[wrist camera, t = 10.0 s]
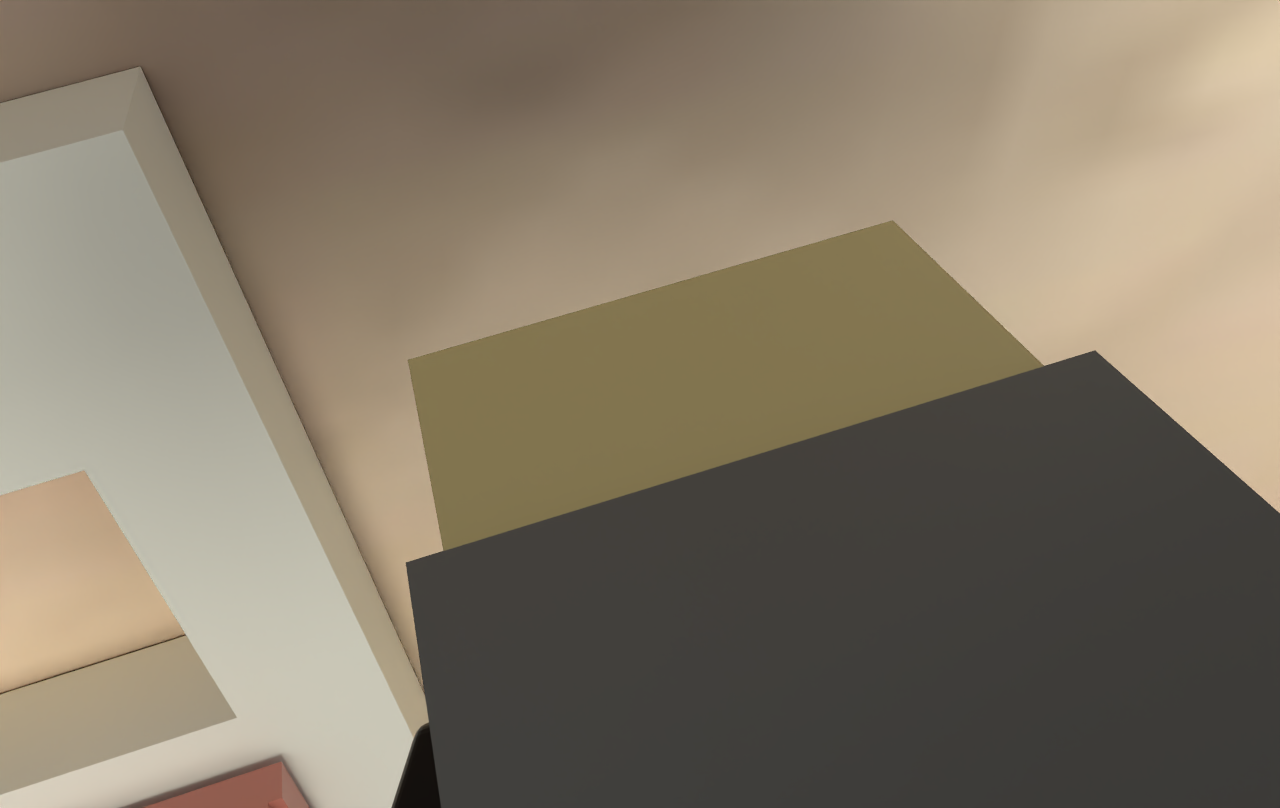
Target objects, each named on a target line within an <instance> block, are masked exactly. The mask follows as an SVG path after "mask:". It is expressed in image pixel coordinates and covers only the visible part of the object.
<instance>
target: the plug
mask: <svg viewBox="0 0 1280 808" xmlns="http://www.w3.org/2000/svg"><path fill="white" fill-rule="evenodd" d="M408 363H409V368H410V374H411V379H412V384H413V390H414V395H415V400H416V406H417V411H418V416H419V422H420V427H421V432H422V438H423V443H424V448H425V454H426V459H427V464H428V470H429V475H430V480H431V486H432V491H433V496H434V502H435V507H436V513H437V518H438V523H439V529H440V534H441V539H442V545H443V550H444V551H442V552H439V553H436V554H432V555H429V556H426V557H423V558H419V559H416V560H413V561H410V562H406V567H407V574H408V581H409V588H410V595H411V602H412V609H413V616H414V623H415V630H416V637H417V644H418V650H419V657H420V664H421V671H422V678H423V685H424V692H425V699H426V706H427V713H428V720H429V727H430V734H431V740H432V747H433V754H434V761H435V768H436V775H437V782H438V789H439V796H440V803H441V808H1280V513H1279V512H1278V511H1276V510H1275V509H1274V508H1273V507H1272V506H1271V505H1270V504H1268V503H1267V502H1266V501H1265V500H1264V499H1263V498H1262V497H1261V496H1259V495H1258V494H1257V493H1256V492H1255V491H1254V490H1253V489H1251V488H1250V487H1249V486H1248V485H1247V484H1246V483H1245V482H1244V481H1242V480H1241V479H1240V478H1239V477H1238V476H1237V475H1236V474H1234V473H1233V472H1232V471H1231V470H1230V469H1229V468H1228V467H1227V466H1225V465H1224V464H1223V463H1222V462H1221V461H1220V460H1219V459H1217V458H1216V457H1215V456H1214V455H1213V454H1212V453H1211V452H1210V451H1208V450H1207V449H1206V448H1205V447H1204V446H1203V445H1202V444H1200V443H1199V442H1198V441H1197V440H1196V439H1195V438H1194V437H1193V436H1191V435H1190V434H1189V433H1188V432H1187V431H1186V430H1185V429H1183V428H1182V427H1181V426H1180V425H1179V424H1178V423H1177V422H1176V421H1174V420H1173V419H1172V418H1171V417H1170V416H1169V415H1168V414H1166V413H1165V412H1164V411H1163V410H1162V409H1161V408H1160V407H1159V406H1157V405H1156V404H1155V403H1154V402H1153V401H1152V400H1151V399H1149V398H1148V397H1147V396H1146V395H1145V394H1144V393H1143V392H1142V391H1140V390H1139V389H1138V388H1137V387H1136V386H1135V385H1134V384H1132V383H1131V382H1130V381H1129V380H1128V379H1127V378H1126V377H1125V376H1123V375H1122V374H1121V373H1120V372H1119V371H1118V370H1117V369H1115V368H1114V367H1113V366H1112V365H1111V364H1110V363H1109V362H1108V361H1106V360H1105V359H1104V358H1103V357H1102V356H1101V355H1100V354H1098V353H1097V352H1096V351H1092V352H1088V353H1085V354H1082V355H1079V356H1075V357H1072V358H1069V359H1066V360H1062V361H1059V362H1056V363H1053V364H1049V365H1046V366H1044V365H1043V364H1041V363H1040V362H1039V361H1038V360H1037V359H1036V358H1035V357H1034V356H1033V355H1032V354H1031V353H1030V352H1029V351H1028V350H1027V349H1026V348H1025V347H1024V346H1023V345H1022V344H1021V343H1020V342H1019V341H1018V340H1016V339H1015V338H1014V337H1013V336H1012V335H1011V334H1010V333H1009V332H1008V331H1007V330H1006V329H1005V328H1004V327H1003V326H1002V325H1001V324H1000V323H999V322H998V321H997V320H996V319H995V318H994V317H993V316H992V315H990V314H989V313H988V312H987V311H986V310H985V309H984V308H983V307H982V306H981V305H980V304H979V303H978V302H977V301H976V300H975V299H974V298H973V297H972V296H971V295H970V294H969V293H968V292H967V291H965V290H964V289H963V288H962V287H961V286H960V285H959V284H958V283H957V282H956V281H955V280H954V279H953V278H952V277H951V276H950V275H949V274H948V273H947V272H946V271H945V270H944V269H943V268H942V267H940V266H939V265H938V264H937V263H936V262H935V261H934V260H933V259H932V258H931V257H930V256H929V255H928V254H927V253H926V252H925V251H924V250H923V249H922V248H921V247H920V246H919V245H918V244H917V243H915V242H914V241H913V240H912V239H911V238H910V237H909V236H908V235H907V234H906V233H905V232H904V231H903V230H902V229H901V228H900V227H899V226H898V225H897V224H896V223H895V222H894V221H889V222H886V223H882V224H879V225H875V226H872V227H869V228H865V229H862V230H858V231H855V232H851V233H848V234H844V235H841V236H837V237H834V238H830V239H827V240H823V241H820V242H816V243H813V244H809V245H806V246H802V247H799V248H795V249H792V250H789V251H785V252H782V253H778V254H775V255H771V256H768V257H764V258H761V259H757V260H754V261H750V262H747V263H743V264H740V265H736V266H733V267H729V268H726V269H722V270H719V271H716V272H712V273H709V274H705V275H702V276H698V277H695V278H691V279H688V280H684V281H681V282H677V283H674V284H670V285H667V286H663V287H660V288H656V289H653V290H649V291H646V292H642V293H639V294H636V295H632V296H629V297H625V298H622V299H618V300H615V301H611V302H608V303H604V304H601V305H597V306H594V307H590V308H587V309H583V310H580V311H576V312H573V313H569V314H566V315H562V316H559V317H556V318H552V319H549V320H545V321H542V322H538V323H535V324H531V325H528V326H524V327H521V328H517V329H514V330H510V331H507V332H503V333H500V334H496V335H493V336H489V337H486V338H483V339H479V340H476V341H472V342H469V343H465V344H462V345H458V346H455V347H451V348H448V349H444V350H441V351H437V352H434V353H430V354H427V355H423V356H420V357H416V358H413V359H409V360H408Z"/></svg>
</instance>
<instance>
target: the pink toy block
mask: <svg viewBox="0 0 1280 808" xmlns="http://www.w3.org/2000/svg"><path fill="white" fill-rule="evenodd" d="M143 808H309V806H308V804H307V803H306V801H305V799H304V798H303V796H302V794H301V793H300V791H299V789H298V788H297V786H296V784H295V783H294V781H293V779H292V778H291V776H290V774H289V773H288V771H287V770H286V768H285V766H284V765H283V763H282V761H281V762H278V763H275V764H272V765H269V766H266V767H263V768H260V769H257V770H254V771H251V772H248V773H245V774H242V775H239V776H236V777H233V778H230V779H227V780H224V781H221V782H218V783H215V784H212V785H209V786H206V787H203V788H200V789H197V790H194V791H191V792H188V793H185V794H182V795H179V796H176V797H173V798H170V799H167V800H164V801H161V802H158V803H155V804H152V805H149V806H146V807H143Z"/></svg>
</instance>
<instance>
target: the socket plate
mask: <svg viewBox="0 0 1280 808" xmlns="http://www.w3.org/2000/svg"><path fill="white" fill-rule="evenodd" d="M80 471H85V472H86V474H87V475H88V477H89V479H90V480H91V482H92V483H93V485H94V487H95V488H96V490H97V492H98V493H99V495H100V496H101V498H102V500H103V501H104V503H105V505H106V506H107V508H108V509H109V511H110V513H111V514H112V516H113V517H114V519H115V521H116V522H117V524H118V526H119V527H120V529H121V530H122V532H123V534H124V535H125V537H126V539H127V540H128V542H129V543H130V545H131V547H132V548H133V550H134V551H135V553H136V555H137V556H138V558H139V560H140V561H141V563H142V564H143V566H144V568H145V569H146V571H147V573H148V574H149V576H150V577H151V579H152V581H153V582H154V584H155V586H156V587H157V589H158V590H159V592H160V594H161V595H162V597H163V598H164V600H165V602H166V603H167V605H168V607H169V608H170V610H171V611H172V613H173V615H174V616H175V618H176V620H177V621H178V623H179V624H180V626H181V628H182V629H183V631H184V632H185V634H186V636H183V637H180V638H177V639H174V640H170V641H167V642H164V643H161V644H158V645H155V646H152V647H148V648H145V649H142V650H139V651H136V652H133V653H129V654H126V655H123V656H120V657H117V658H114V659H111V660H107V661H104V662H101V663H98V664H95V665H92V666H88V667H85V668H82V669H79V670H76V671H73V672H69V673H66V674H63V675H60V676H57V677H54V678H51V679H47V680H44V681H41V682H38V683H35V684H32V685H28V686H25V687H22V688H19V689H16V690H13V691H10V692H6V693H3V694H0V808H143V807H146V806H149V805H152V804H155V803H158V802H161V801H164V800H167V799H170V798H173V797H176V796H179V795H182V794H185V793H188V792H191V791H194V790H197V789H200V788H203V787H206V786H209V785H212V784H215V783H218V782H221V781H224V780H227V779H230V778H233V777H236V776H239V775H242V774H245V773H248V772H251V771H254V770H257V769H260V768H263V767H266V766H269V765H272V764H275V763H278V762H281V761H282V763H283V765H284V766H285V768H286V770H287V771H288V773H289V774H290V776H291V778H292V779H293V781H294V783H295V784H296V786H297V788H298V789H299V791H300V793H301V794H302V796H303V798H304V799H305V801H306V803H307V804H308V806H309V808H391V807H392V804H393V801H394V798H395V794H396V791H397V788H398V785H399V782H400V779H401V776H402V773H403V769H404V766H405V763H406V760H407V757H408V754H409V751H410V748H411V744H412V741H413V739H414V736H415V734H416V732H417V730H418V729H419V728H420V727H421V726H422V725H424V724H426V723H428V722H429V720H428V713H427V706H426V699H425V695H424V693H423V690H422V688H421V686H420V684H419V682H418V679H417V677H416V675H415V673H414V670H413V668H412V666H411V664H410V662H409V659H408V657H407V655H406V653H405V651H404V648H403V646H402V644H401V642H400V640H399V637H398V635H397V633H396V631H395V628H394V626H393V624H392V622H391V620H390V617H389V615H388V613H387V611H386V609H385V606H384V604H383V602H382V600H381V598H380V595H379V593H378V591H377V589H376V586H375V584H374V582H373V580H372V578H371V575H370V573H369V571H368V569H367V567H366V564H365V562H364V560H363V558H362V556H361V553H360V551H359V549H358V547H357V544H356V542H355V540H354V538H353V536H352V533H351V531H350V529H349V527H348V525H347V522H346V520H345V518H344V516H343V513H342V511H341V509H340V507H339V505H338V502H337V500H336V498H335V496H334V494H333V491H332V489H331V487H330V485H329V483H328V480H327V478H326V476H325V474H324V471H323V469H322V467H321V465H320V463H319V460H318V458H317V456H316V454H315V452H314V449H313V447H312V445H311V443H310V441H309V438H308V436H307V434H306V432H305V429H304V427H303V425H302V423H301V421H300V418H299V416H298V414H297V412H296V410H295V407H294V405H293V403H292V401H291V399H290V396H289V394H288V392H287V390H286V387H285V385H284V383H283V381H282V379H281V376H280V374H279V372H278V370H277V368H276V365H275V363H274V361H273V359H272V356H271V354H270V352H269V350H268V348H267V345H266V343H265V341H264V339H263V337H262V334H261V332H260V330H259V328H258V326H257V323H256V321H255V319H254V317H253V314H252V312H251V310H250V308H249V306H248V303H247V301H246V299H245V297H244V295H243V292H242V290H241V288H240V286H239V284H238V281H237V279H236V277H235V275H234V272H233V270H232V268H231V266H230V264H229V261H228V259H227V257H226V255H225V253H224V250H223V248H222V246H221V244H220V242H219V239H218V237H217V235H216V233H215V230H214V228H213V226H212V224H211V222H210V219H209V217H208V215H207V213H206V211H205V208H204V206H203V204H202V202H201V200H200V197H199V195H198V193H197V191H196V188H195V186H194V184H193V182H192V180H191V177H190V175H189V173H188V171H187V169H186V166H185V164H184V162H183V160H182V157H181V155H180V153H179V151H178V149H177V146H176V144H175V142H174V140H173V138H172V135H171V133H170V131H169V129H168V127H167V124H166V122H165V120H164V118H163V115H162V113H161V111H160V109H159V107H158V104H157V102H156V100H155V98H154V96H153V93H152V91H151V89H150V87H149V85H148V82H147V80H146V78H145V76H144V73H143V71H142V69H141V67H136V68H133V69H129V70H125V71H121V72H117V73H114V74H110V75H106V76H102V77H98V78H94V79H91V80H87V81H83V82H79V83H75V84H72V85H68V86H64V87H60V88H56V89H53V90H49V91H45V92H41V93H37V94H34V95H30V96H26V97H22V98H18V99H14V100H11V101H7V102H3V103H0V495H3V494H7V493H10V492H13V491H17V490H20V489H23V488H27V487H30V486H33V485H37V484H40V483H43V482H47V481H50V480H54V479H57V478H60V477H64V476H67V475H70V474H74V473H77V472H80Z"/></svg>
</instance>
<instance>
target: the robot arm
mask: <svg viewBox="0 0 1280 808" xmlns="http://www.w3.org/2000/svg"><path fill="white" fill-rule="evenodd" d="M391 808H441V803H440V796H439V789H438V782H437V775H436V768H435V761H434V754H433V747H432V740H431V734H430V727H429V722H428V723H426V724H424V725H422V726H421V727H420V728H419V729H418V730H417V732H416V734H415V736H414V739H413V741H412V744H411V748H410V751H409V754H408V757H407V760H406V763H405V766H404V769H403V773H402V776H401V779H400V782H399V785H398V788H397V791H396V794H395V798H394V801H393V804H392V807H391Z"/></svg>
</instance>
